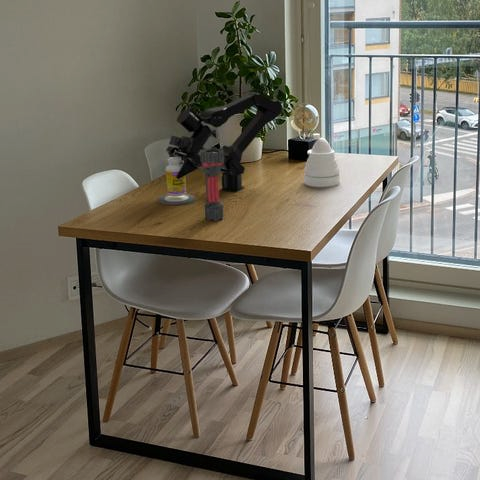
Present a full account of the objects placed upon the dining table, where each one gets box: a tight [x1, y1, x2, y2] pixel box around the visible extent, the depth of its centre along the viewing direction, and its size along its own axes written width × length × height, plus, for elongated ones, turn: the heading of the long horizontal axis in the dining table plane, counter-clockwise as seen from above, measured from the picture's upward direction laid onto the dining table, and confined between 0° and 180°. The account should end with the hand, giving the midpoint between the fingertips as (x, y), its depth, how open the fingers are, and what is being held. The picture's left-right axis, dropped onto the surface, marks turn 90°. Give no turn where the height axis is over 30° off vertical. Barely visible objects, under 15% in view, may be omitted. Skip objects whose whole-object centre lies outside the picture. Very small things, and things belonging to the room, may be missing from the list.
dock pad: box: [157, 193, 196, 207], centre depth 309 cm, size 13×13×1 cm
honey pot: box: [303, 133, 340, 188], centre depth 324 cm, size 13×13×18 cm
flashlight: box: [200, 146, 224, 222], centre depth 281 cm, size 8×8×23 cm
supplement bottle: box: [165, 157, 187, 196], centre depth 306 cm, size 7×7×13 cm
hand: (172, 176), depth 306 cm, fingers closed on supplement bottle, 6 cm apart
